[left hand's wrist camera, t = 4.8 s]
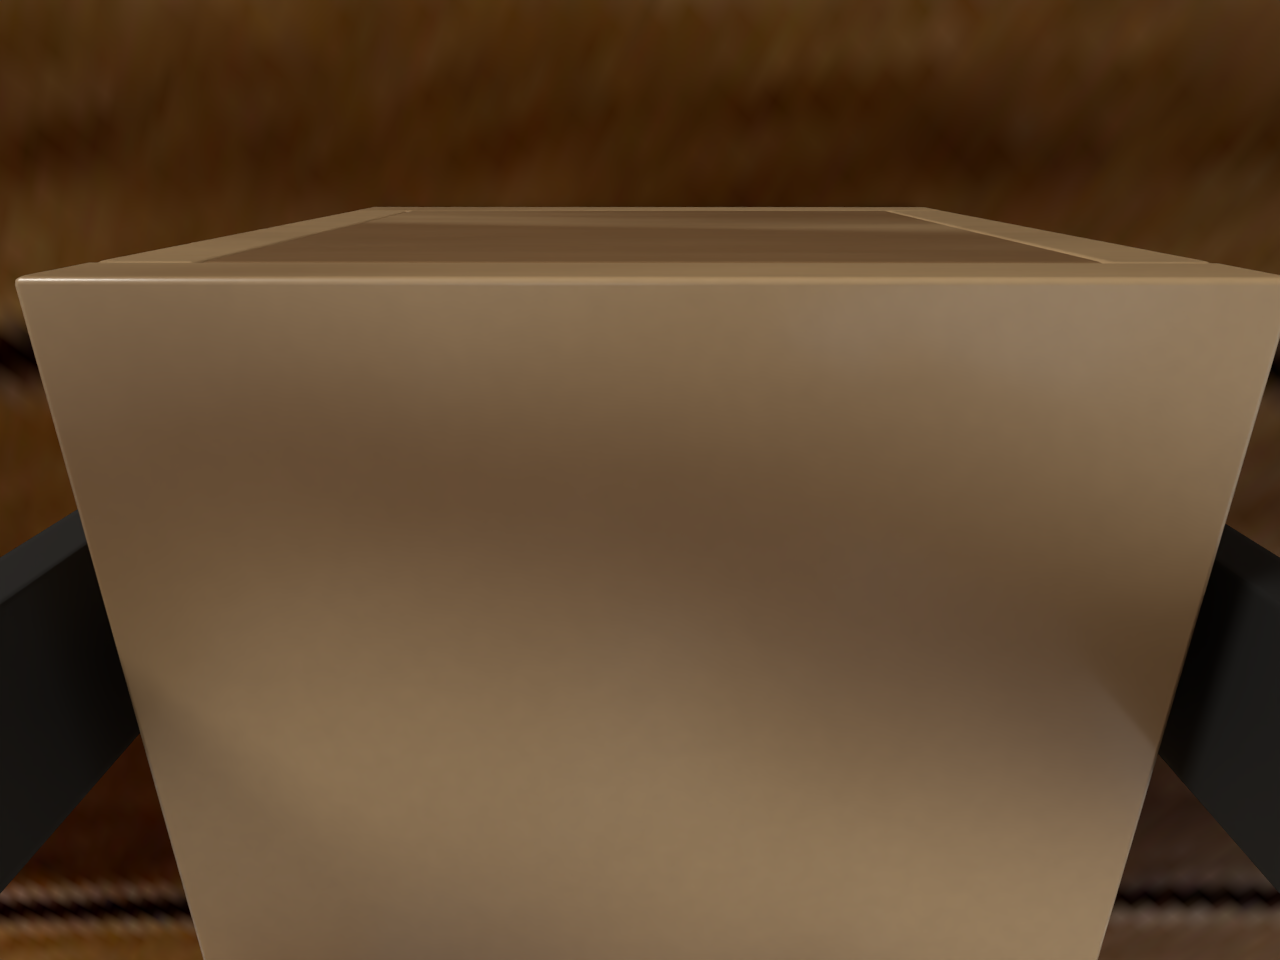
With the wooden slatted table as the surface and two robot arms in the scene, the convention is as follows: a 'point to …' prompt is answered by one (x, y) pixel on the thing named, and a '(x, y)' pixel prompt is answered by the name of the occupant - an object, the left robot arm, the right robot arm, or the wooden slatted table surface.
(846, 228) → the cabinet
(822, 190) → the wooden slatted table surface
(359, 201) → the wooden slatted table surface
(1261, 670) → the left robot arm
